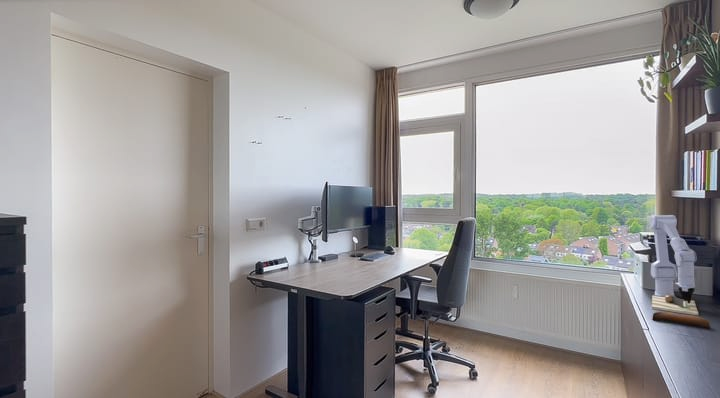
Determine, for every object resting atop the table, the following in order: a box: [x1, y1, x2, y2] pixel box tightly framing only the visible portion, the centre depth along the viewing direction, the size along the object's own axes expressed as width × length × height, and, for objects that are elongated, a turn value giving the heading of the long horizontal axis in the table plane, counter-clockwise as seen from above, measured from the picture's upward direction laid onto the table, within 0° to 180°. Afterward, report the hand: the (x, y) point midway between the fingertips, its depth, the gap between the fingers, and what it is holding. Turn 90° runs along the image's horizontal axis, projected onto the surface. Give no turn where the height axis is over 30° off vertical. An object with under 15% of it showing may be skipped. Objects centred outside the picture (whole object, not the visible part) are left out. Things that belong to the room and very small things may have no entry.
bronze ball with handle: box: [665, 295, 688, 307], centre depth 166 cm, size 11×4×3 cm, turn 176°
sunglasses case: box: [652, 311, 711, 330], centre depth 147 cm, size 18×7×7 cm
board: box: [651, 295, 699, 316], centre depth 167 cm, size 22×16×1 cm
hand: (687, 302), depth 165 cm, fingers closed
